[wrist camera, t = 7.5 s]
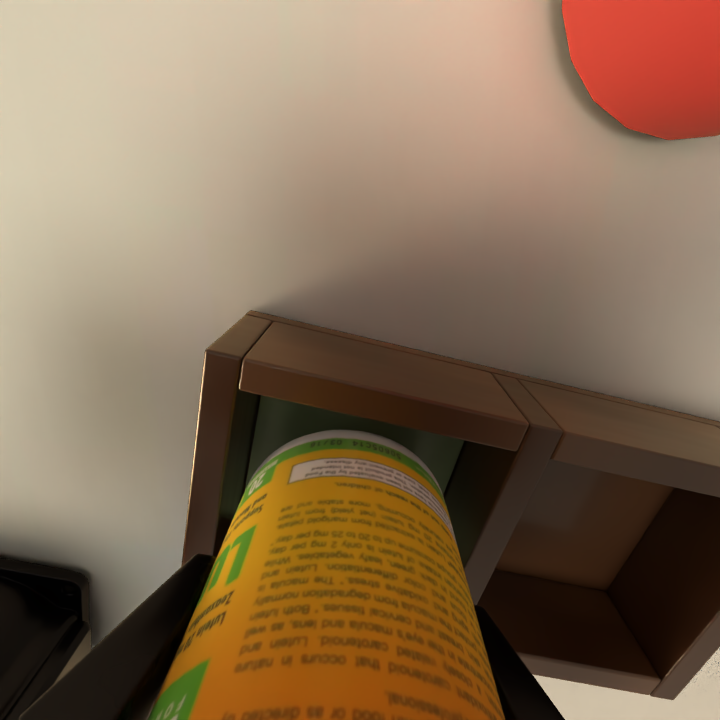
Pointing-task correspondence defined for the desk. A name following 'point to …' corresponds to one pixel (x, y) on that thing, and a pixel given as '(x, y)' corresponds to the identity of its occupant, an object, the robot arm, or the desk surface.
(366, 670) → the supplement bottle
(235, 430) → the organizer
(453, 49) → the desk surface
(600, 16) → the beer can
